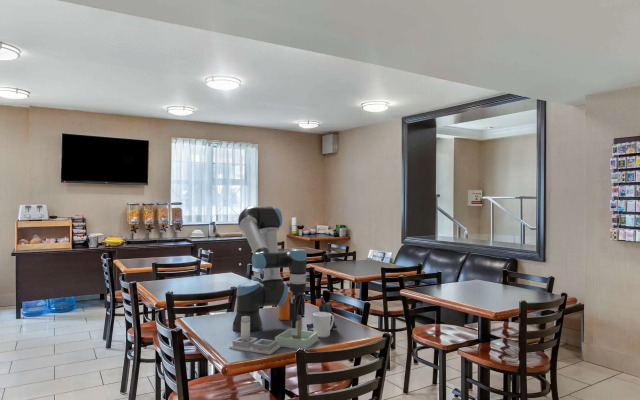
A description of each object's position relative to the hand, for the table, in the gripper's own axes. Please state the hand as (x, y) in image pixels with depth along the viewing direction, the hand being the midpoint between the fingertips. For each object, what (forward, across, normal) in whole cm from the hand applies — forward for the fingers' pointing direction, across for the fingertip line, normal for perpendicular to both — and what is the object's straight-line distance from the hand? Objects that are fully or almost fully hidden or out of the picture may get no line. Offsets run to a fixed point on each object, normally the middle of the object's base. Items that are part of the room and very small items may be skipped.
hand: (296, 333), depth 195 cm
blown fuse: (+4, 0, 0) cm, 4 cm away
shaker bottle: (+5, +38, +24) cm, 45 cm away
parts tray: (+4, 0, 0) cm, 4 cm away
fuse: (+3, -14, +19) cm, 24 cm away
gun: (+5, +25, -3) cm, 26 cm away
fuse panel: (+4, -14, +14) cm, 20 cm away
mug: (+5, +17, -7) cm, 19 cm away
